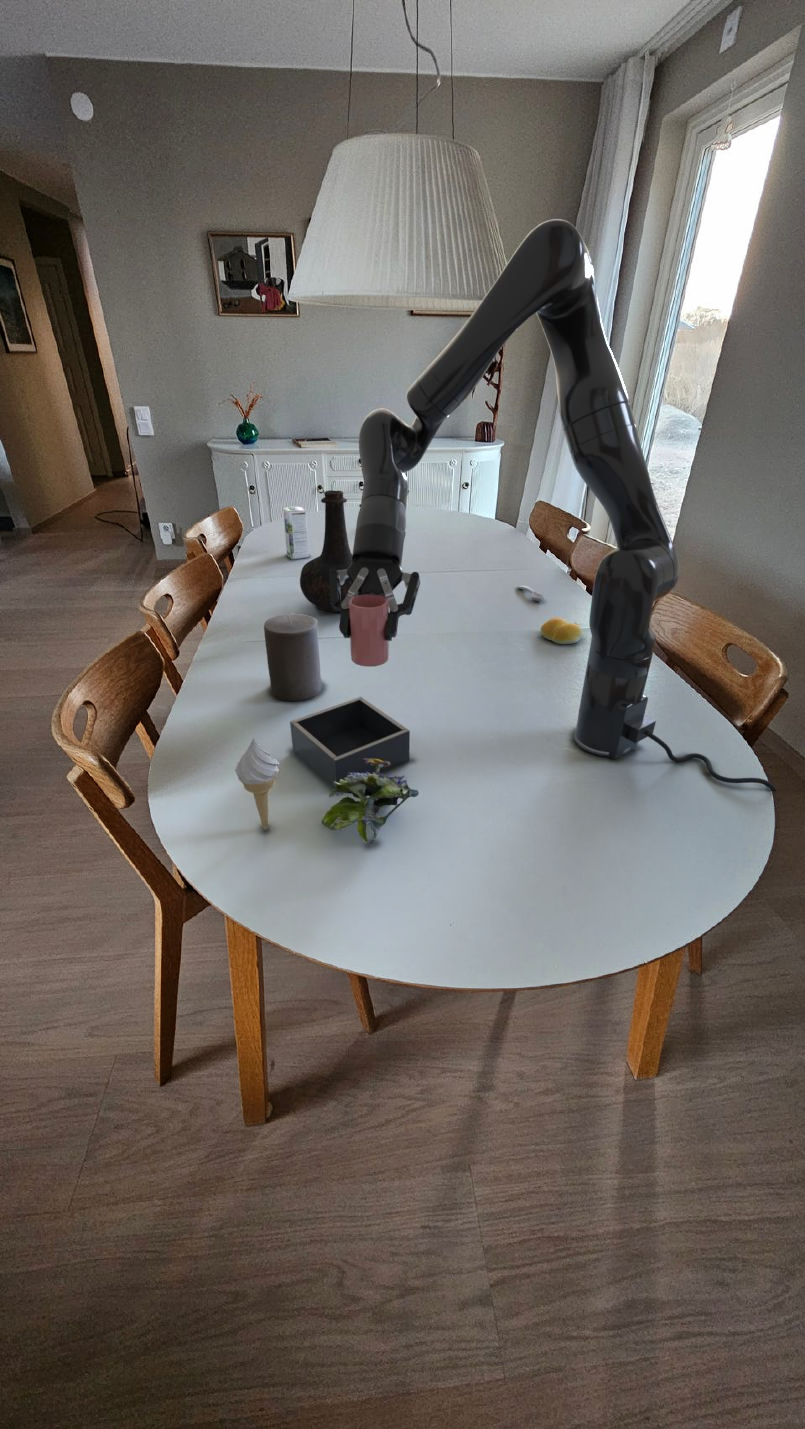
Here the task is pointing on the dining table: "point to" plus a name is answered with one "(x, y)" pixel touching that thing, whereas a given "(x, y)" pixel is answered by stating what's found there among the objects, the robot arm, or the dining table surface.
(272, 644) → the pillar candle
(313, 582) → the glass bottle
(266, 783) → the ice cream cone
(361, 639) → the cup
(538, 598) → the spoon
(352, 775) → the passion flower
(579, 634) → the bread roll
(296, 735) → the dark grey open box
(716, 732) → the dining table surface
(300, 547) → the syrup box
